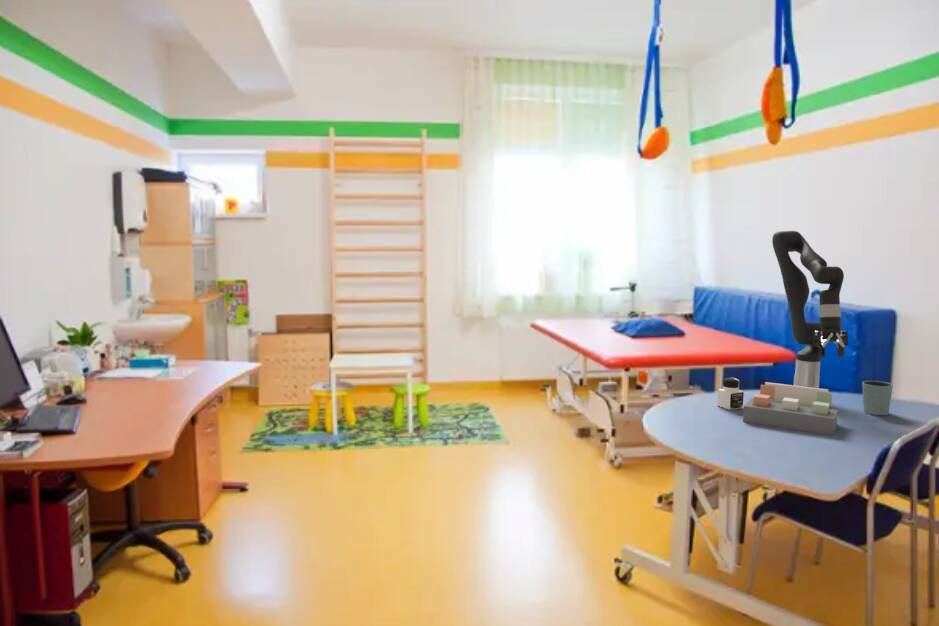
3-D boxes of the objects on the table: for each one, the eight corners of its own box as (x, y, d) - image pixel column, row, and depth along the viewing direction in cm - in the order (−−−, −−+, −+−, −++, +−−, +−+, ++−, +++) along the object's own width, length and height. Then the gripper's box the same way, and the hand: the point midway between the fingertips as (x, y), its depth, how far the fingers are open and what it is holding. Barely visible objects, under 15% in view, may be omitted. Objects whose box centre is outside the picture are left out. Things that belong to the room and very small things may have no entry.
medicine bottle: (730, 410, 261) (731, 381, 260) (716, 406, 268) (718, 377, 266) (743, 408, 264) (744, 379, 263) (729, 404, 270) (731, 375, 269)
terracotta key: (753, 407, 248) (753, 396, 247) (755, 405, 252) (756, 393, 251) (767, 409, 245) (767, 398, 244) (769, 406, 249) (770, 395, 248)
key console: (742, 421, 246) (744, 390, 244) (753, 409, 261) (754, 380, 260) (832, 435, 229) (835, 402, 227) (838, 422, 245) (840, 391, 243)
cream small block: (781, 411, 242) (782, 400, 241) (783, 408, 246) (784, 397, 245) (796, 414, 239) (797, 402, 239) (798, 410, 243) (799, 399, 243)
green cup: (893, 417, 251) (895, 387, 249) (863, 414, 254) (865, 385, 252) (886, 410, 260) (888, 381, 258) (857, 408, 263) (859, 379, 262)
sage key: (811, 416, 236) (812, 404, 236) (813, 413, 240) (814, 401, 240) (827, 418, 233) (828, 406, 233) (828, 415, 238) (829, 403, 237)
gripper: (837, 316, 264) (839, 356, 263) (807, 316, 260) (809, 356, 259) (852, 315, 256) (854, 356, 255) (822, 315, 253) (823, 357, 252)
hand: (831, 356), depth 257 cm, fingers open, 8 cm apart
